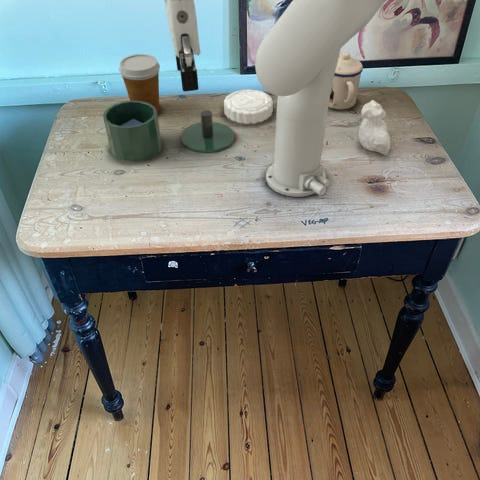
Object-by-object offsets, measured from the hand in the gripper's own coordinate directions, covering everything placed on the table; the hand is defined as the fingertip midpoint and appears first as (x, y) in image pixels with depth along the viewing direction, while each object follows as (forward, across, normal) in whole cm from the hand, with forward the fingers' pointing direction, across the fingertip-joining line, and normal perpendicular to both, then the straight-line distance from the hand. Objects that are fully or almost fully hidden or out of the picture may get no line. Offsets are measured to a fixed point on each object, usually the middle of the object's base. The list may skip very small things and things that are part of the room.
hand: (187, 79), depth 102 cm
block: (+14, 0, +13) cm, 19 cm away
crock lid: (+14, +1, -3) cm, 14 cm away
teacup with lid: (+16, +10, -38) cm, 43 cm away
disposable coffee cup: (+14, +17, +10) cm, 24 cm away
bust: (+16, -9, -39) cm, 43 cm away
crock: (+14, 0, +13) cm, 20 cm away
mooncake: (+15, +11, -15) cm, 24 cm away
